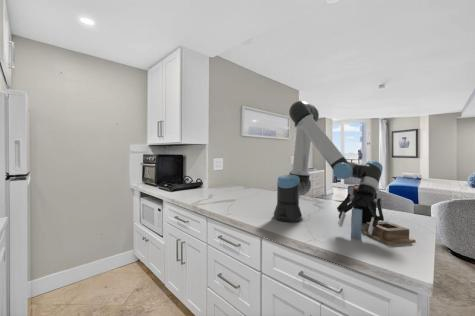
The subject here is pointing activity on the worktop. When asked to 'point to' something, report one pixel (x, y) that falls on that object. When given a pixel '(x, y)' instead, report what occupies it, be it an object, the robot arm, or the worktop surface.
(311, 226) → the worktop surface
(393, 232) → the socket block
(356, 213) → the dowel
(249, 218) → the worktop surface
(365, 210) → the coffee jar
